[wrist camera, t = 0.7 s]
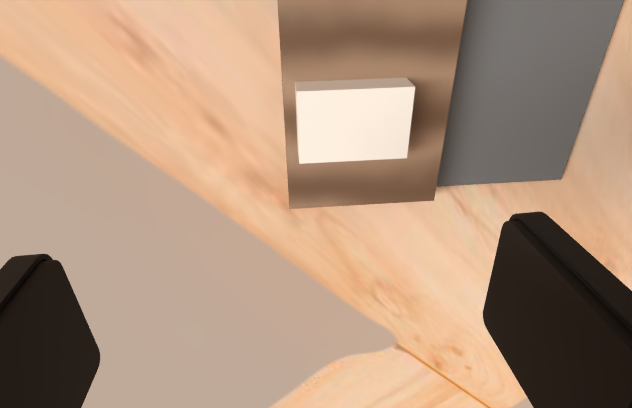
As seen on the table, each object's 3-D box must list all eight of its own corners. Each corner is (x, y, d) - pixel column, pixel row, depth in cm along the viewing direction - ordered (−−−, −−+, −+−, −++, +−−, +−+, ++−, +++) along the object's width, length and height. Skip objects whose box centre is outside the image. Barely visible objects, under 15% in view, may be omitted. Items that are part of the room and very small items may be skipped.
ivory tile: (295, 81, 33) (296, 91, 31) (406, 77, 33) (415, 86, 31) (297, 150, 36) (299, 163, 34) (399, 145, 37) (406, 158, 34)
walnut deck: (277, -7, 32) (277, -2, 29) (453, -11, 33) (468, -7, 30) (288, 192, 42) (289, 208, 39) (424, 185, 43) (433, 200, 40)
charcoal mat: (459, -11, 33) (461, -11, 33) (625, -15, 34) (629, -15, 34) (429, 184, 43) (430, 186, 42) (558, 177, 44) (561, 179, 43)
